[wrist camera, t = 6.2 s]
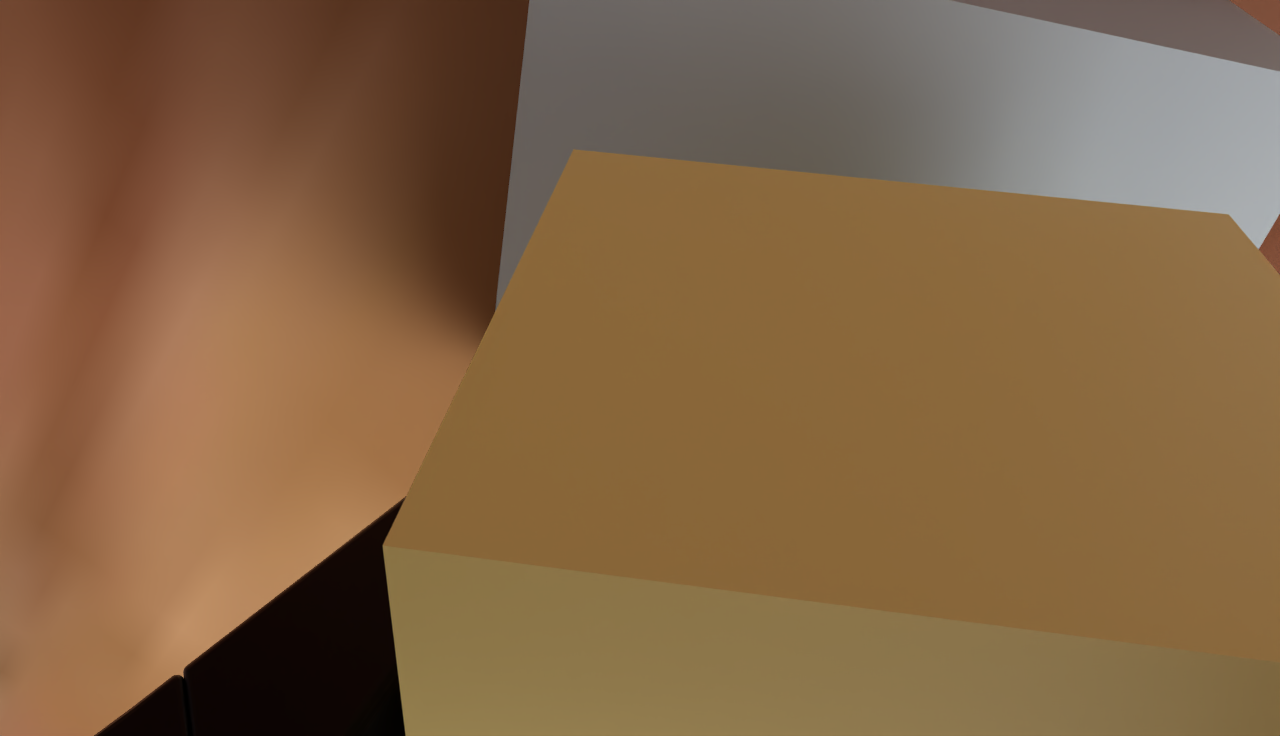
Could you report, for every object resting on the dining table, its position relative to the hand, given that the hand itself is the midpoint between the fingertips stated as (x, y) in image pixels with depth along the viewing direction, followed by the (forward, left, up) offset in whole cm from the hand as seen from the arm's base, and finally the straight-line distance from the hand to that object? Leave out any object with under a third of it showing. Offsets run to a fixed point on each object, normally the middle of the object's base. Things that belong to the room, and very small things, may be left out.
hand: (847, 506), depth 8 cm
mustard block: (0, 0, -1) cm, 1 cm away
